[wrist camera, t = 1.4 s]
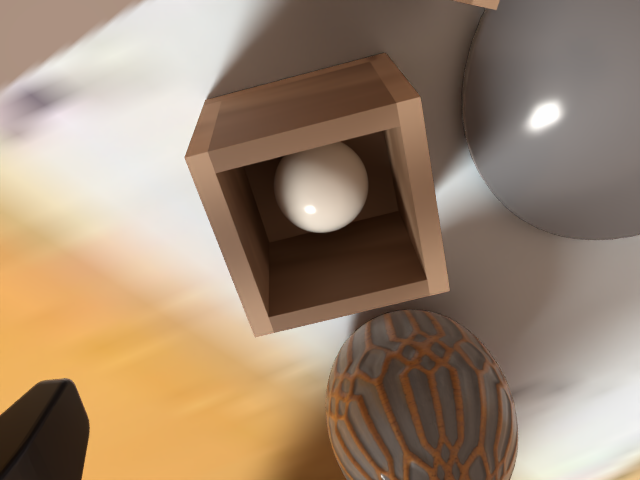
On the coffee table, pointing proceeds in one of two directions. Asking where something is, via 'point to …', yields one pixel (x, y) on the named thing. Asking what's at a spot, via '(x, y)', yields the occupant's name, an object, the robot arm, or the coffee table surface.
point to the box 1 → (332, 247)
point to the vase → (419, 403)
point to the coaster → (558, 113)
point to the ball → (321, 187)
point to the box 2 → (482, 3)
